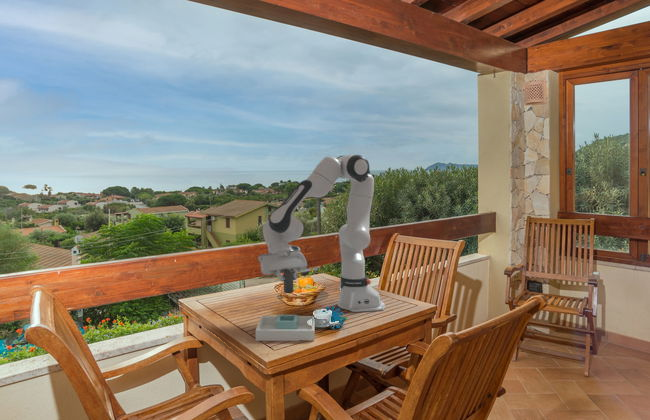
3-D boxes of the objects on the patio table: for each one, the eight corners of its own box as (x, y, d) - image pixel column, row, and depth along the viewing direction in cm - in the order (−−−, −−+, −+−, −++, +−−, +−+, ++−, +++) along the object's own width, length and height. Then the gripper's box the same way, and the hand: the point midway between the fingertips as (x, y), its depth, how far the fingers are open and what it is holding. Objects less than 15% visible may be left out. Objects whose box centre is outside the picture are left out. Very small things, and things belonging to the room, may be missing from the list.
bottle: (293, 290, 173) (293, 267, 172) (292, 293, 169) (293, 269, 168) (284, 290, 173) (284, 267, 172) (283, 293, 169) (283, 269, 168)
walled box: (314, 325, 170) (314, 313, 170) (314, 340, 154) (314, 327, 154) (261, 325, 170) (261, 313, 169) (255, 340, 154) (255, 327, 153)
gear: (320, 326, 164) (321, 304, 171) (318, 332, 169) (319, 310, 175) (347, 329, 166) (347, 307, 172) (344, 335, 170) (344, 313, 177)
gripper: (259, 250, 170) (268, 278, 163) (302, 246, 181) (313, 273, 173) (255, 258, 175) (263, 287, 167) (298, 255, 185) (308, 281, 177)
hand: (289, 280), depth 170 cm, fingers closed on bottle, 4 cm apart
